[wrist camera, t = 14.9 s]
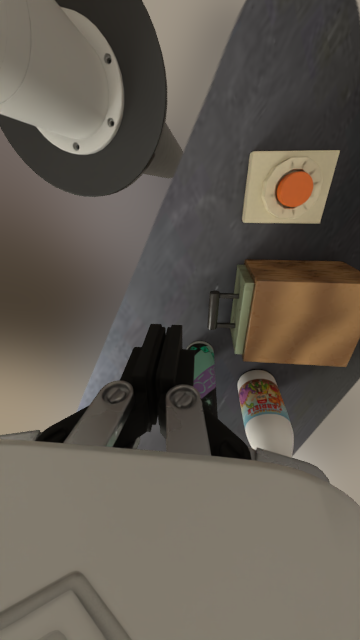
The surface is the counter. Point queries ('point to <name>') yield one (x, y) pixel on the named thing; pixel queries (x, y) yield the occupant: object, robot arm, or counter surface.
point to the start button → (295, 189)
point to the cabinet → (303, 312)
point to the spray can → (205, 375)
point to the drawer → (235, 308)
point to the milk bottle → (265, 413)
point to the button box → (267, 176)
